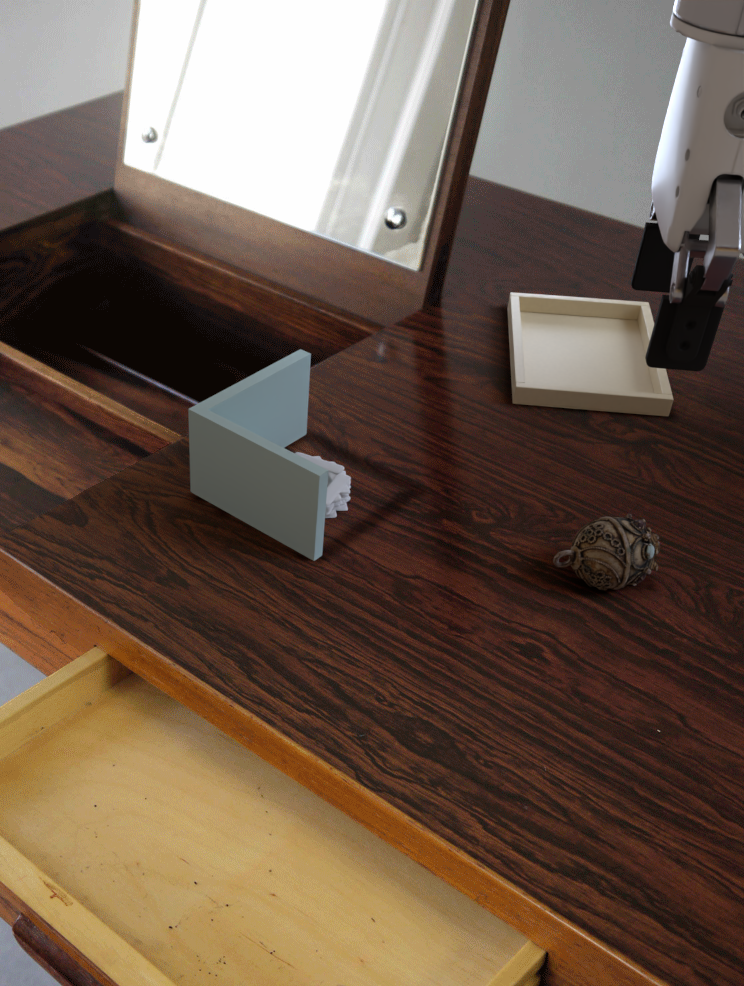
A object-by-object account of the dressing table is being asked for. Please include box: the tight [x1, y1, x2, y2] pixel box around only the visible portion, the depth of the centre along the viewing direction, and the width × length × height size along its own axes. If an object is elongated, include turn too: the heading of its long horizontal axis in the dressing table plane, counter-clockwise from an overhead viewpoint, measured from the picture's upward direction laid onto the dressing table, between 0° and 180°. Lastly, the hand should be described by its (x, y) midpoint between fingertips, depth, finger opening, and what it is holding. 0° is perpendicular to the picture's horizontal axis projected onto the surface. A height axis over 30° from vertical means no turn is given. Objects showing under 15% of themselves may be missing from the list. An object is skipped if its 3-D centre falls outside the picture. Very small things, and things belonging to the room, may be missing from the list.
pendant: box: [552, 513, 661, 591], centre depth 76 cm, size 5×8×5 cm, turn 104°
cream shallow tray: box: [507, 291, 674, 417], centre depth 99 cm, size 18×13×2 cm
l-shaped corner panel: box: [187, 348, 352, 562], centre depth 82 cm, size 12×12×8 cm
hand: (664, 326), depth 67 cm, fingers open, 9 cm apart
